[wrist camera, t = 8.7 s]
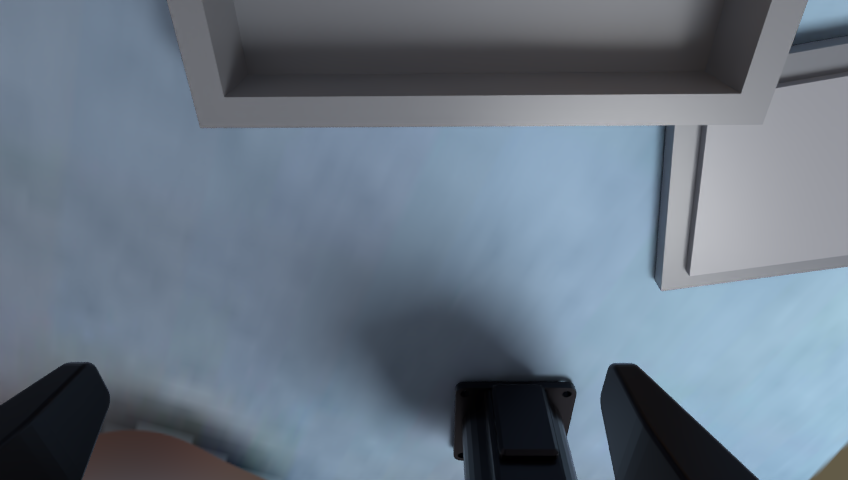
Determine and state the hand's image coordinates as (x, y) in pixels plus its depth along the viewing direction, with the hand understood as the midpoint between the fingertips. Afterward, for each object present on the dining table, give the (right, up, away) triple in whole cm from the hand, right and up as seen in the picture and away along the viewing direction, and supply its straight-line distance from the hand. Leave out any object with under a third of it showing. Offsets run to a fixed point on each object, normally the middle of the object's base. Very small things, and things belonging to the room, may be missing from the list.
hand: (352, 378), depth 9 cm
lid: (+17, +6, +12) cm, 22 cm away
